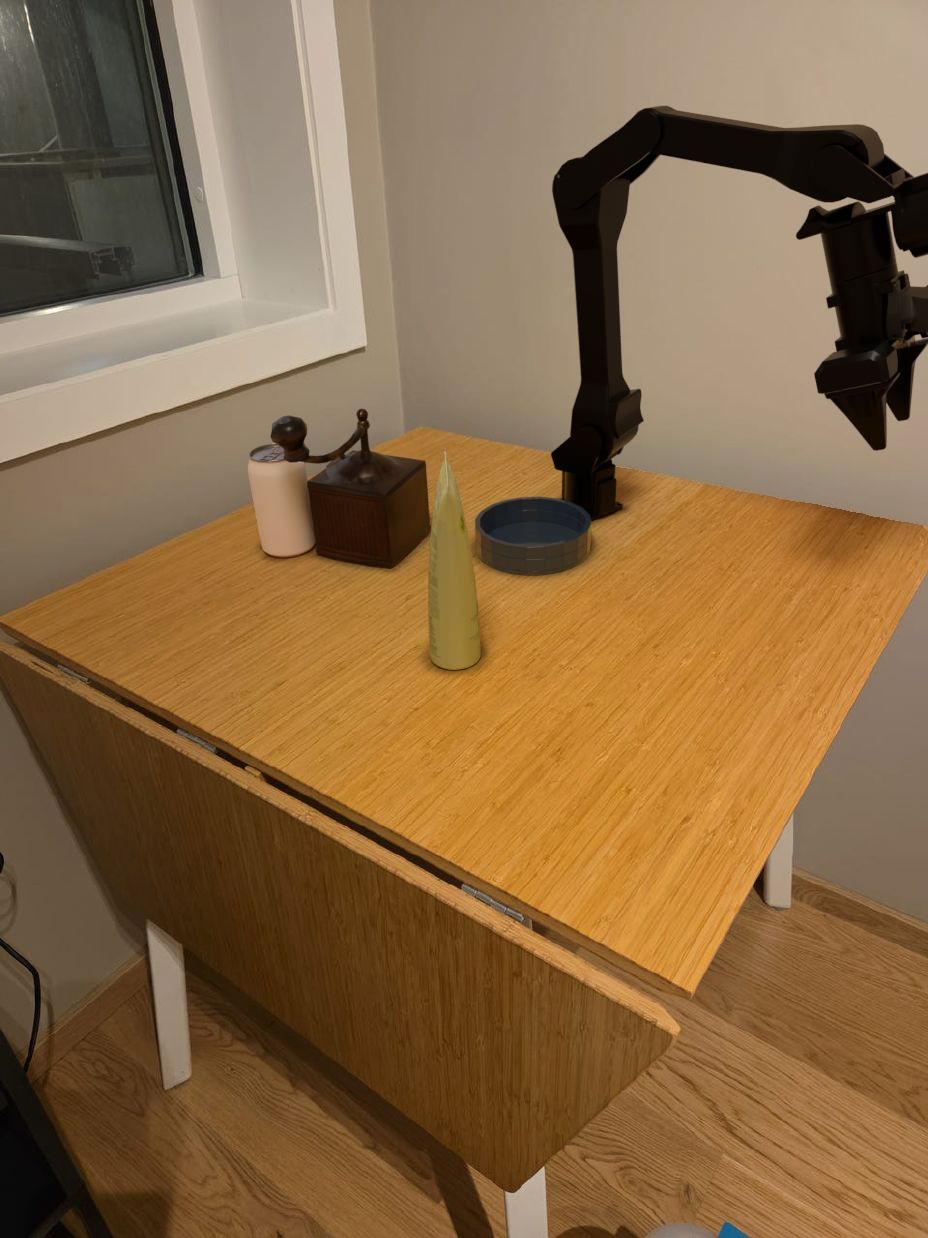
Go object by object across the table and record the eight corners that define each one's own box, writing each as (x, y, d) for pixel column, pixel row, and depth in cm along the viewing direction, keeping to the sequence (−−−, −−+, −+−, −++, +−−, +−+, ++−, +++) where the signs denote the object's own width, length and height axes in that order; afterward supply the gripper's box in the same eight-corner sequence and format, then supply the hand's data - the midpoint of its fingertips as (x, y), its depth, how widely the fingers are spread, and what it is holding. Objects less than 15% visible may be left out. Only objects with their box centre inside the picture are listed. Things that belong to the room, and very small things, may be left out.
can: (326, 539, 109) (313, 444, 103) (296, 562, 104) (281, 465, 98) (282, 531, 112) (267, 438, 105) (251, 554, 107) (233, 458, 100)
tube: (497, 658, 86) (491, 465, 76) (458, 681, 83) (447, 484, 73) (456, 636, 90) (445, 449, 79) (417, 657, 87) (401, 467, 76)
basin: (454, 544, 107) (452, 517, 105) (540, 513, 113) (540, 487, 111) (523, 587, 97) (523, 558, 95) (614, 550, 103) (615, 523, 102)
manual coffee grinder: (354, 518, 114) (338, 377, 104) (433, 531, 110) (423, 385, 100) (285, 574, 102) (259, 421, 93) (370, 591, 98) (352, 433, 88)
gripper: (936, 265, 72) (965, 452, 77) (979, 228, 84) (1002, 390, 89) (797, 303, 79) (832, 471, 84) (856, 264, 92) (883, 411, 97)
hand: (892, 434), depth 88 cm, fingers open, 9 cm apart
